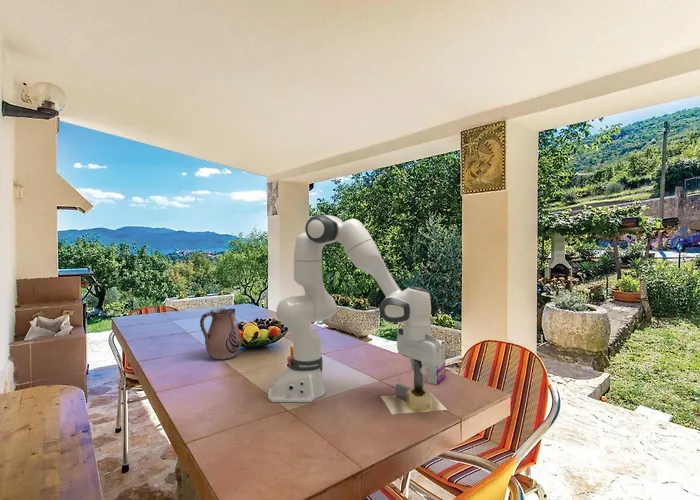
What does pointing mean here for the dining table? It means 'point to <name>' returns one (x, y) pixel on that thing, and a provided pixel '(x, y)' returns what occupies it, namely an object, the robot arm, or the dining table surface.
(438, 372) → the candy bar box
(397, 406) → the oak board
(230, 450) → the dining table surface
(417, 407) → the hinge leaves
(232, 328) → the ceramic pitcher
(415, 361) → the hinge pin
